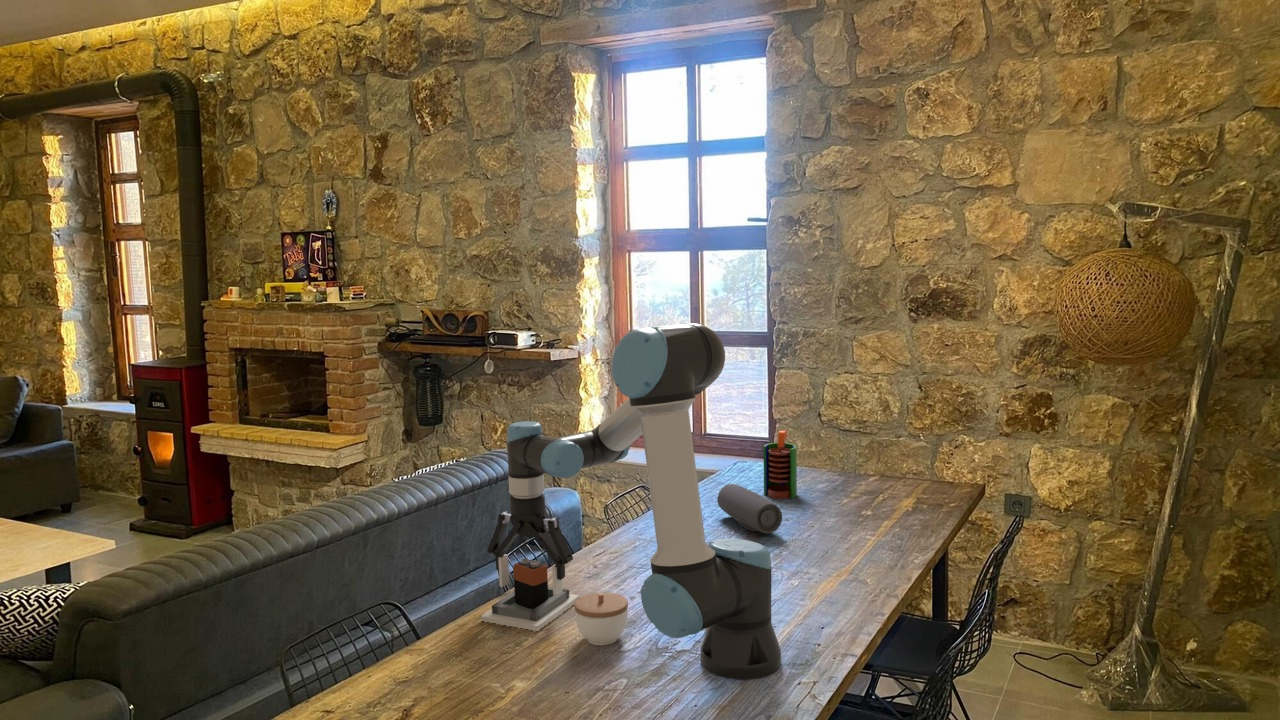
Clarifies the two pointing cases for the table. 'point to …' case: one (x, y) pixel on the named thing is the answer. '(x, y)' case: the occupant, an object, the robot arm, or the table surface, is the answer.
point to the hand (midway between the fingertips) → (530, 589)
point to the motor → (780, 468)
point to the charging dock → (529, 611)
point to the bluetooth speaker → (750, 509)
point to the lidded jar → (601, 617)
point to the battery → (530, 583)
